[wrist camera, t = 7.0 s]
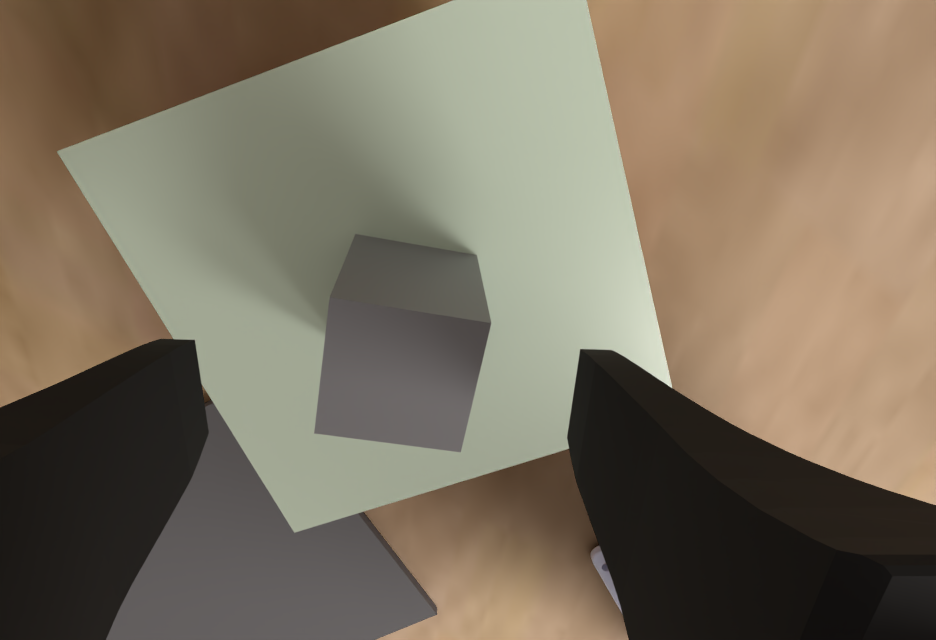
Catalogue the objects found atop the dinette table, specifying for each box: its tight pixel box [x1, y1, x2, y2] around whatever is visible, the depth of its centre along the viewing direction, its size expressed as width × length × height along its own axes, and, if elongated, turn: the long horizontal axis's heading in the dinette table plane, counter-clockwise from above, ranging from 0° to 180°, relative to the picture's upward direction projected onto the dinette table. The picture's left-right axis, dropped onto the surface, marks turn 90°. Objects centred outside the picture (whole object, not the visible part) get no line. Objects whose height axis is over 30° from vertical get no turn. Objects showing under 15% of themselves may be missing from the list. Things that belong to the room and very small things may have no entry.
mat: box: [106, 400, 437, 640], centre depth 26 cm, size 14×14×1 cm
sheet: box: [57, 0, 672, 533], centre depth 14 cm, size 12×12×5 cm
